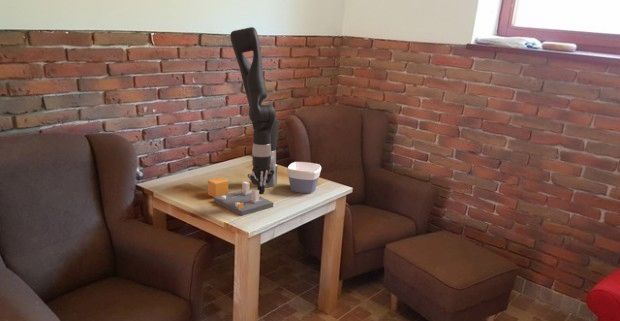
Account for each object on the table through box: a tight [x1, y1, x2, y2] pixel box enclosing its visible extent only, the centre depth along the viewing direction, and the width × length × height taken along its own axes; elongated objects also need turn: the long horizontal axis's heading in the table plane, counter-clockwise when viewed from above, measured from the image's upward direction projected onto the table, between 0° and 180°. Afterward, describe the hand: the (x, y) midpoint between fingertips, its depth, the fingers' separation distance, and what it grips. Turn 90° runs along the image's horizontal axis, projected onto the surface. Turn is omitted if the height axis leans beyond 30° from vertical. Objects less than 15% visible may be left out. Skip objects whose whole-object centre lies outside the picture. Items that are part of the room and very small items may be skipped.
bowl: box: [286, 161, 322, 194], centre depth 214 cm, size 15×15×11 cm
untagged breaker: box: [241, 181, 251, 196], centre depth 199 cm, size 3×3×5 cm
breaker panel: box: [213, 189, 274, 217], centre depth 193 cm, size 16×20×4 cm
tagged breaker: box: [250, 188, 261, 204], centre depth 190 cm, size 3×3×5 cm
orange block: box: [207, 177, 229, 198], centre depth 202 cm, size 6×6×7 cm
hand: (260, 193), depth 192 cm, fingers closed
